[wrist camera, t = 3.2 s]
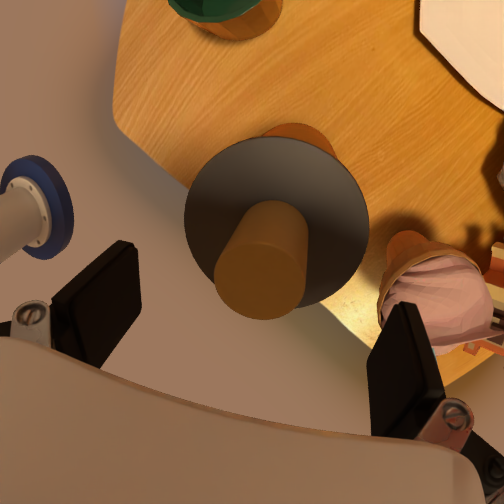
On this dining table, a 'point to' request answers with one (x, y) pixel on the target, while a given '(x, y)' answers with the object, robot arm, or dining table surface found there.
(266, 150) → the lid
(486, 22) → the plate
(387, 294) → the ice cream cone
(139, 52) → the dining table surface
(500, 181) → the stone
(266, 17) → the canister
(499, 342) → the toy character
